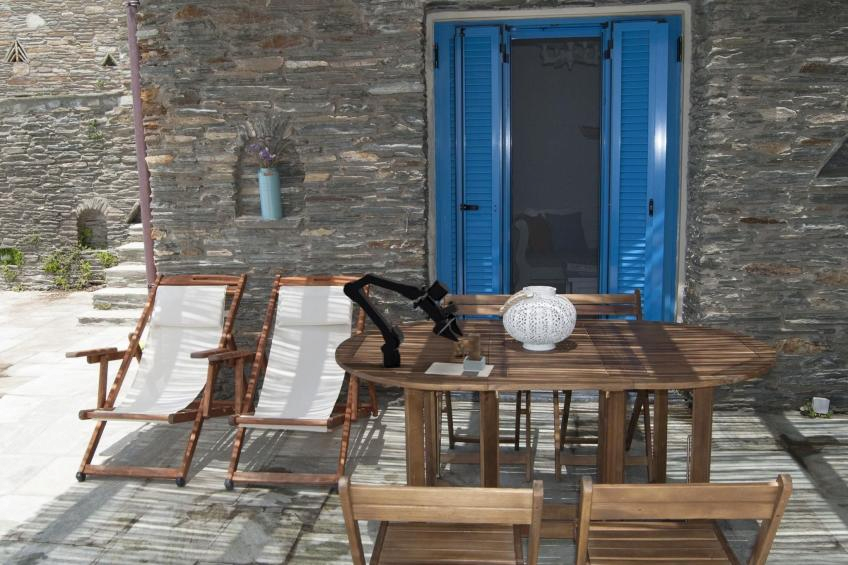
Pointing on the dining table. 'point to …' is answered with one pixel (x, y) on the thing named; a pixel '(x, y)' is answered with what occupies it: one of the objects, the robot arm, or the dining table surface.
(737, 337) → the dining table surface
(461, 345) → the lion figurine
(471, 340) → the walnut block
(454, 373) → the board
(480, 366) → the sleeve
